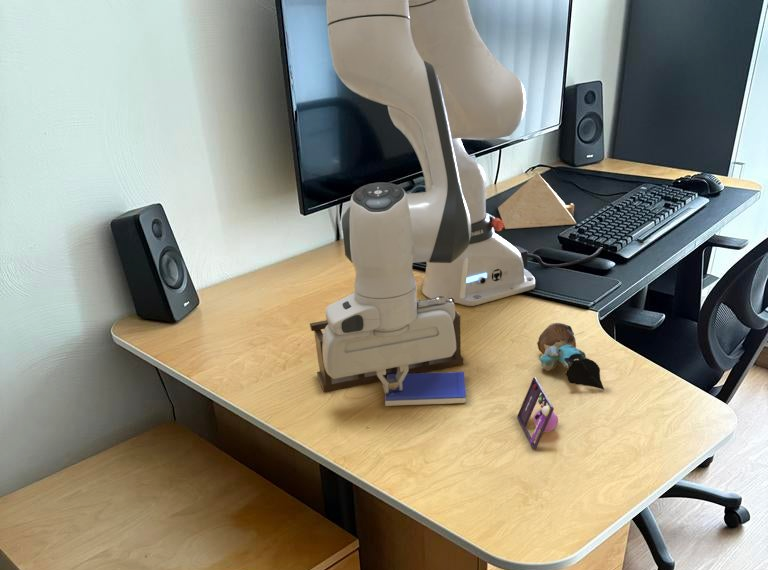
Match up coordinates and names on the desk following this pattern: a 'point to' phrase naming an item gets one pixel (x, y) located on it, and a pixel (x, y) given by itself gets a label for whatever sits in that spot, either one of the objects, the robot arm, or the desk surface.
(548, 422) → the purple toy package
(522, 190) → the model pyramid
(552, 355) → the figurine
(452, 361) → the letter rack
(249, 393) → the desk surface
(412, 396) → the hard drive
